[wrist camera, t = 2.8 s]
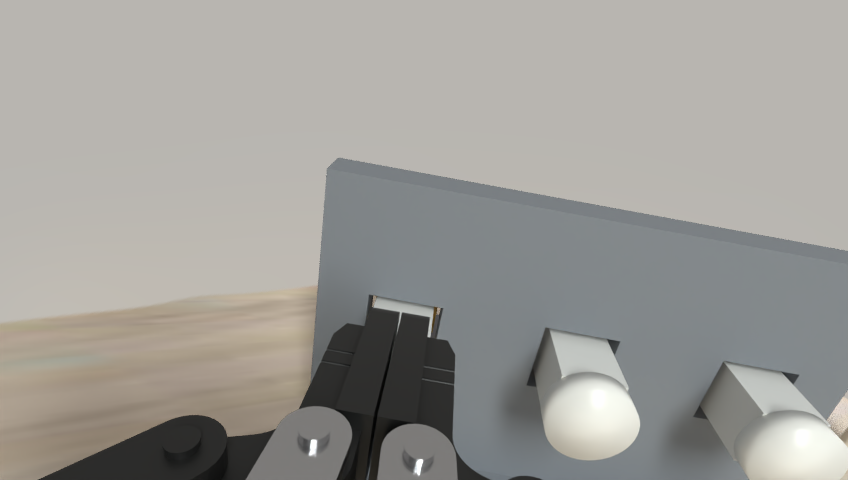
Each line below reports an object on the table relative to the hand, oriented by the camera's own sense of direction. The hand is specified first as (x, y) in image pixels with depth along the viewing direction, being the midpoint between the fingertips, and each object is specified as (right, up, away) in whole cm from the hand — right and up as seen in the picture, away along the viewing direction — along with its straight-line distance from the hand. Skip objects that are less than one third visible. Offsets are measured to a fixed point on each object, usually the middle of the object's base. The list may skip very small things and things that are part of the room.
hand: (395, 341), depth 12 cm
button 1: (+17, -7, +13) cm, 23 cm away
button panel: (+7, -12, +17) cm, 22 cm away
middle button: (+8, -5, +14) cm, 17 cm away
